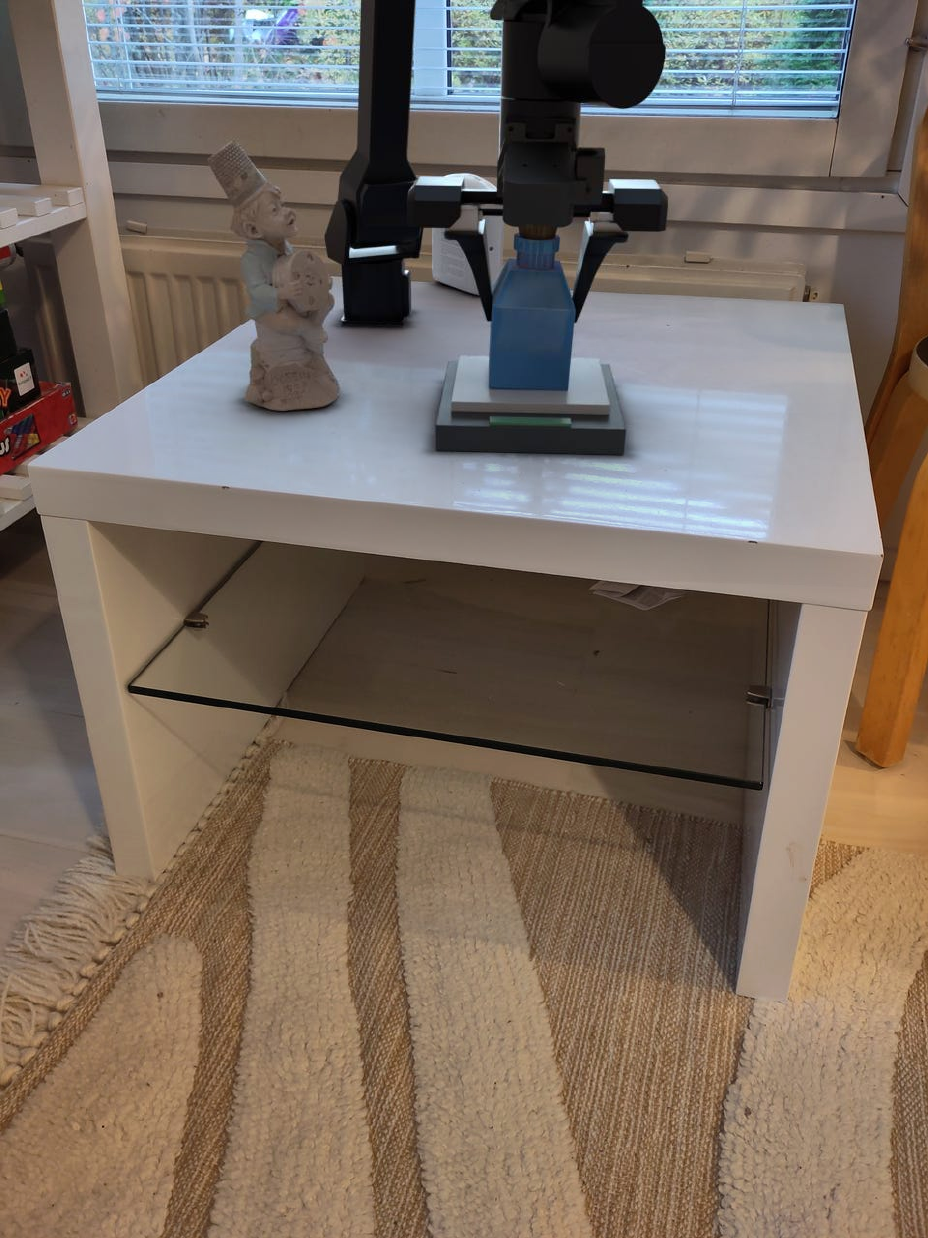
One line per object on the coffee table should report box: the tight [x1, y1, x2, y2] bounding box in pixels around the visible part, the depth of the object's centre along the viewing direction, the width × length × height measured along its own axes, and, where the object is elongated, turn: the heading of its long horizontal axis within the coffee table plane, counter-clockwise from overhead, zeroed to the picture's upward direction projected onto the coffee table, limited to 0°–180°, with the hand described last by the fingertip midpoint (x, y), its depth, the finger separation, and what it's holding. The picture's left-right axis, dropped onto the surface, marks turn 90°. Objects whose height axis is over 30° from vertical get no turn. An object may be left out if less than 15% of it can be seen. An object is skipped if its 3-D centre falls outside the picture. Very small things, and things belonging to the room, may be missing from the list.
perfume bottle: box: [488, 224, 576, 391], centre depth 79 cm, size 6×6×12 cm
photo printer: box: [431, 173, 505, 296], centre depth 117 cm, size 10×4×12 cm, turn 36°
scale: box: [434, 354, 627, 456], centre depth 81 cm, size 14×16×3 cm
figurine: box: [207, 138, 341, 412], centre depth 80 cm, size 9×8×20 cm
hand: (531, 321), depth 79 cm, fingers closed on perfume bottle, 6 cm apart
